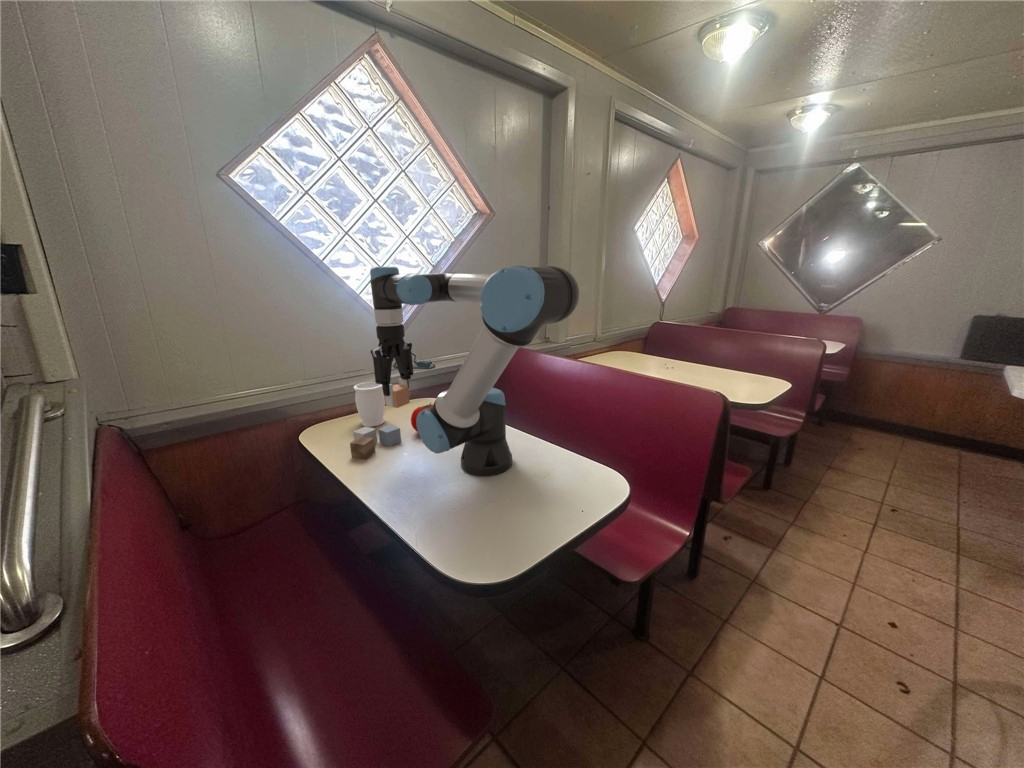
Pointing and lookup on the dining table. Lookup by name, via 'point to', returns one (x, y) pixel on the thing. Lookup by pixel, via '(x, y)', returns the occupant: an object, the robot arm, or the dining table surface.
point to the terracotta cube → (400, 395)
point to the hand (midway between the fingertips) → (397, 402)
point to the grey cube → (366, 433)
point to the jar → (370, 403)
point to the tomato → (416, 412)
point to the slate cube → (389, 435)
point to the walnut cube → (362, 447)
